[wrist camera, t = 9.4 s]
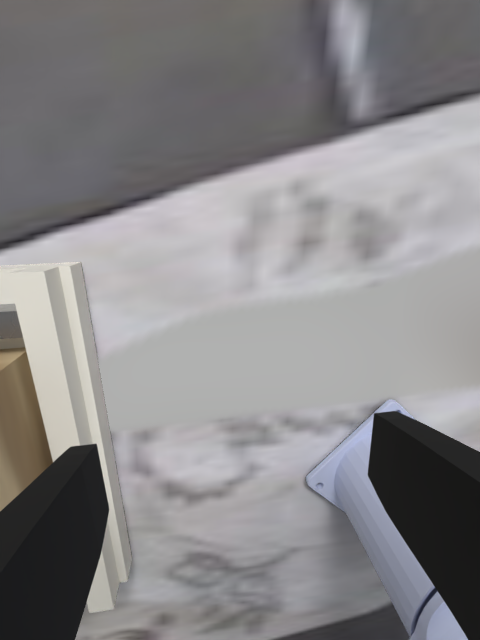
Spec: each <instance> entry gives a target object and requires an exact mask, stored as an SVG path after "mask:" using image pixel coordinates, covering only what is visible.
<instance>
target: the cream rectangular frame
mask: <svg viewBox="0 0 480 640" xmlns="http://www.w3.org/2000/svg"><path fill="white" fill-rule="evenodd" d="M23 347H25V348H26V352H27V356H28V360H29V364H30V369H31V373H32V377H33V381H34V385H35V389H36V393H37V398H38V402H39V406H40V410H41V414H42V418H43V423H44V427H45V431H46V435H47V439H48V443H49V448H50V452H51V456H52V460H53V462H54V461H55V460H56V459H57V458H58V457H59V456H61V455H62V454H63V453H64V452H65V451H66V450H67V449H68V448H70V447H71V446H80V445H89V444H97V448H98V453H99V458H100V463H101V468H102V474H103V479H104V484H105V489H106V494H107V500H108V505H109V514H108V520H107V525H106V531H105V536H104V541H103V546H102V551H101V555H100V559H99V562H98V566H97V569H96V572H95V576H94V579H93V582H92V585H91V589H90V592H89V595H88V599H87V606H88V610H89V613H94V612H100V611H106V610H113V609H114V607H115V602H116V597H117V593H118V588H119V583H121V582H127V581H128V577H129V572H130V567H131V561H132V555H131V549H130V544H129V538H128V532H127V526H126V520H125V515H124V509H123V503H122V497H121V491H120V486H119V480H118V474H117V468H116V463H115V457H114V451H113V445H112V439H111V434H110V428H109V422H108V416H107V410H106V405H105V399H104V393H103V387H102V382H101V376H100V370H99V364H98V358H97V352H96V347H95V341H94V335H93V329H92V324H91V318H90V312H89V306H88V300H87V295H86V289H85V283H84V277H83V271H82V266H81V262H72V263H50V264H28V265H6V266H0V349H9V348H23Z"/></svg>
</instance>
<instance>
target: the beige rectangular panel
mask: <svg viewBox="0 0 480 640" xmlns="http://www.w3.org/2000/svg"><path fill="white" fill-rule="evenodd" d="M52 463H53V460H52V456H51V452H50V448H49V443H48V439H47V435H46V431H45V427H44V423H43V418H42V414H41V410H40V406H39V402H38V398H37V393H36V389H35V385H34V381H33V377H32V373H31V369H30V364H29V360H28V356H27V352H26V348H25V347H23V348H9V349H0V511H1V510H2V509H4V508H5V507H6V506H7V505H8V504H9V503H10V502H11V501H12V500H13V499H14V498H15V497H17V496H18V495H19V494H20V493H21V492H22V491H23V490H24V489H25V488H26V487H27V486H28V485H30V484H31V483H32V482H33V481H34V480H35V479H36V478H37V477H38V476H39V475H40V474H41V473H42V472H43V471H44V470H45V469H47V468H48V467H49V466H50V465H51V464H52Z"/></svg>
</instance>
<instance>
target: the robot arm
mask: <svg viewBox="0 0 480 640" xmlns="http://www.w3.org/2000/svg"><path fill="white" fill-rule="evenodd" d="M396 410H398V411H396ZM306 482H307V484H308V486H309V487H310V488H312V489H313V490H314V491H316V492H317V493H319V494H320V495H321V496H323V497H324V498H325V499H327V500H328V501H330V502H331V503H332V504H334V505H335V506H336V507H338V508H339V509H341V510H342V511H343V512H345V513H346V514H347V516H348V518H349V520H350V522H351V523H352V525H353V527H354V529H355V531H356V533H357V535H358V537H359V539H360V541H361V543H362V545H363V547H364V549H365V551H366V553H367V555H368V557H369V558H370V560H371V562H372V564H373V566H374V568H375V570H376V572H377V574H378V576H379V578H380V580H381V582H382V584H383V586H384V588H385V590H386V592H387V593H388V595H389V597H390V599H391V601H392V603H393V605H394V607H395V609H396V611H397V613H398V615H399V617H400V619H401V621H402V623H403V625H404V627H405V628H406V630H407V632H408V634H409V636H410V639H409V640H480V452H478V451H476V450H474V449H472V448H470V447H468V446H466V445H464V444H462V443H460V442H459V441H457V440H455V439H453V438H451V437H449V436H447V435H445V434H443V433H441V432H439V431H437V430H435V429H433V428H431V427H429V426H427V425H425V424H423V423H421V422H419V421H417V420H415V419H414V418H413V417H412V416H411V415H410V414H409V413H408V412H407V411H406V410H405V409H404V408H403V407H402V406H401V405H400V404H399V403H397V402H396V401H395V400H392V399H390V400H387V401H386V402H385V403H384V404H383V405H382V406H380V407H379V408H378V409H377V410H376V411H375V412H374V413H373V414H372V415H371V416H370V417H369V418H368V419H367V420H366V421H365V422H363V423H362V424H361V425H360V426H359V427H358V428H357V429H356V430H355V431H354V432H353V433H352V434H351V435H350V436H349V437H348V438H346V439H345V440H344V441H343V442H342V443H341V444H340V445H339V446H338V447H337V448H336V449H335V450H334V451H333V452H332V453H331V454H329V455H328V456H327V457H326V458H325V459H324V460H323V461H322V462H321V463H320V464H319V465H318V466H317V467H316V468H315V469H314V470H312V471H311V472H310V473H309V474H308V475H307V477H306ZM318 483H320V484H318ZM108 514H109V505H108V500H107V494H106V489H105V484H104V479H103V474H102V468H101V463H100V458H99V453H98V448H97V444H89V445H80V446H71V447H70V448H68V449H67V450H66V451H65V452H64V453H63V454H62V455H61V456H59V457H58V458H57V459H56V460H55V461H54V462H53V463H52V464H51V465H50V466H49V467H48V468H47V469H45V470H44V471H43V472H42V473H41V474H40V475H39V476H38V477H37V478H36V479H35V480H34V481H33V482H32V483H31V484H30V485H28V486H27V487H26V488H25V489H24V490H23V491H22V492H21V493H20V494H19V495H18V496H17V497H15V498H14V499H13V500H12V501H11V502H10V503H9V504H8V505H7V506H6V507H5V508H4V509H2V510H1V511H0V640H75V637H76V634H77V631H78V628H79V625H80V621H81V618H82V615H83V612H84V608H85V605H86V602H87V599H88V595H89V592H90V589H91V585H92V582H93V579H94V576H95V572H96V569H97V566H98V562H99V559H100V555H101V551H102V546H103V541H104V536H105V531H106V525H107V520H108Z"/></svg>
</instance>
